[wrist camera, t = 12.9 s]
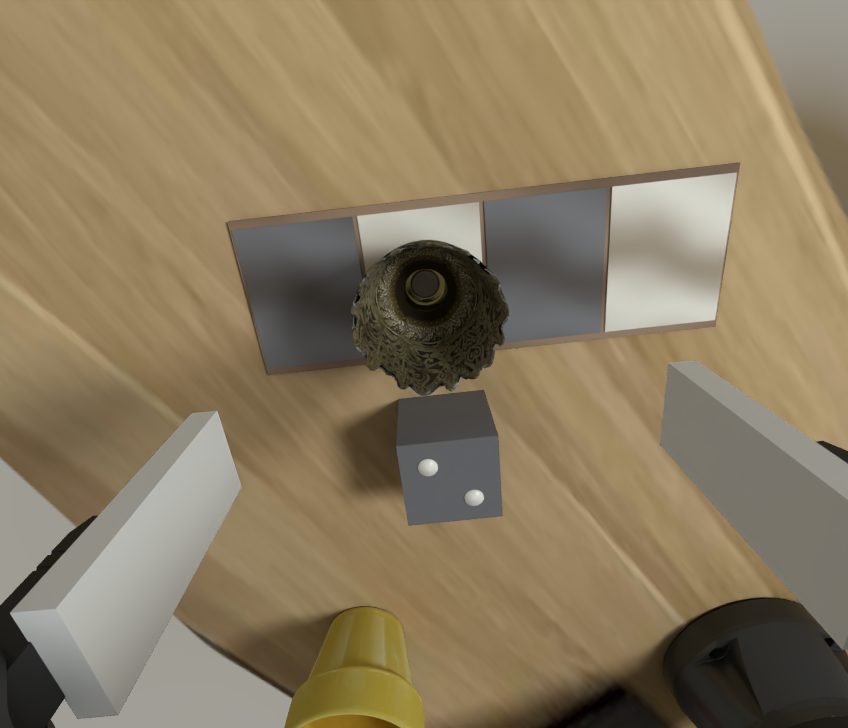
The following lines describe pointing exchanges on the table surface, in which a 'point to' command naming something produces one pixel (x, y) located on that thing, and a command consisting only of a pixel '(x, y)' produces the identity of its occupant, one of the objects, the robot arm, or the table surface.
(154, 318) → the table surface
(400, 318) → the olive textured vase
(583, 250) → the game board
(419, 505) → the die
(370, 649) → the plant pot
